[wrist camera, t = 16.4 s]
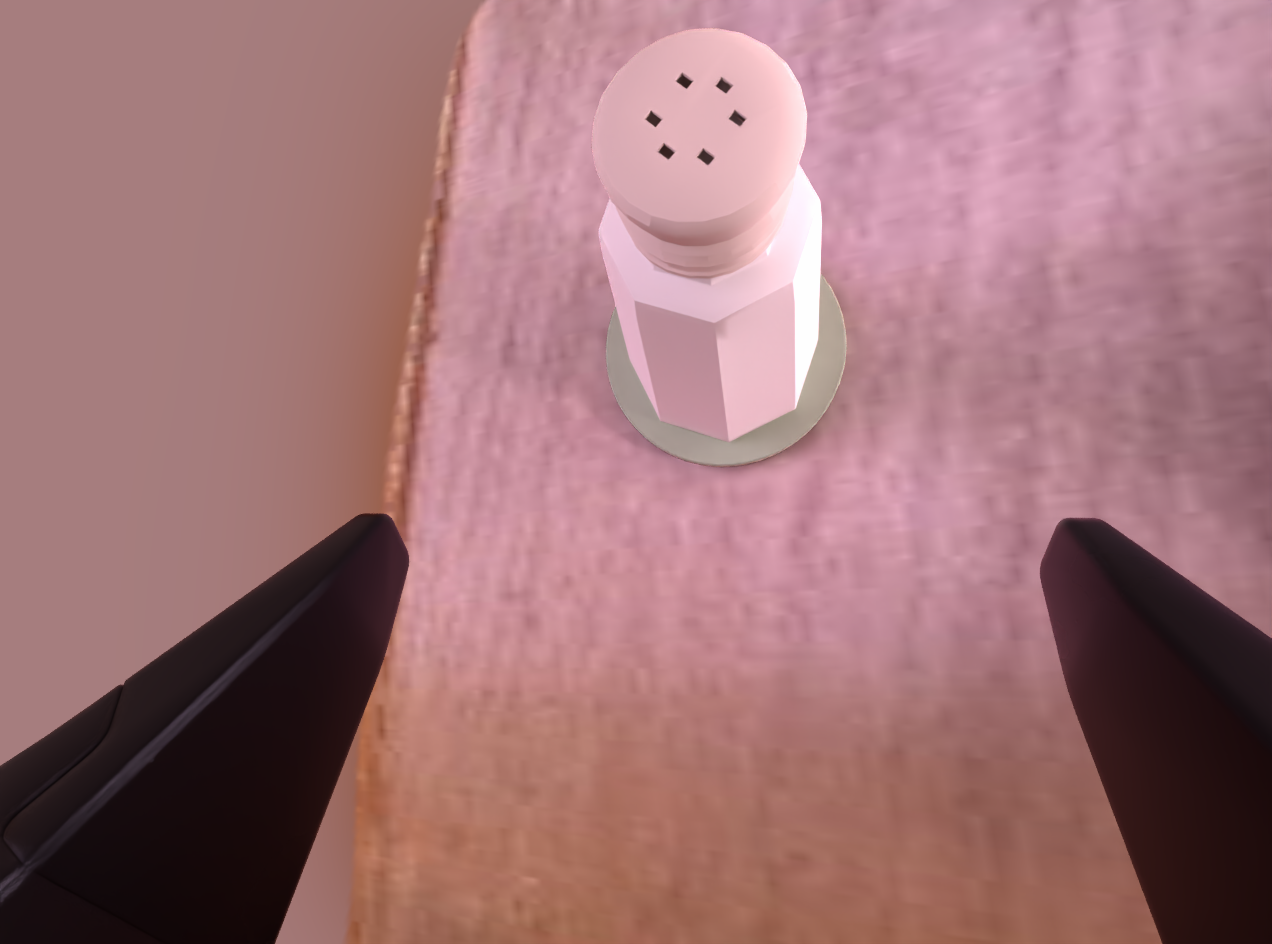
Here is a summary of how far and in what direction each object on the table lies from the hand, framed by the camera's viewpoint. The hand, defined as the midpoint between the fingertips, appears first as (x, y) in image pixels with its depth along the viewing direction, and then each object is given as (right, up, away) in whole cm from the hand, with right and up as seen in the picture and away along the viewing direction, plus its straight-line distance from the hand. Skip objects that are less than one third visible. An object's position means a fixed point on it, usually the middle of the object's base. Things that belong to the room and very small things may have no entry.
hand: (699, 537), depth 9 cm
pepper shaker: (+2, +4, +10) cm, 11 cm away
